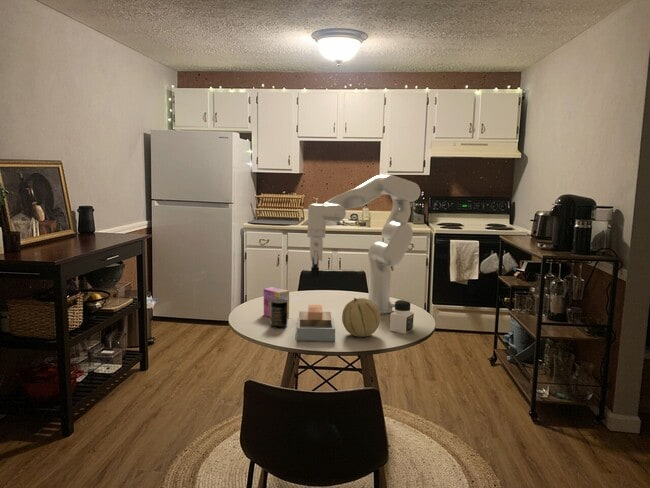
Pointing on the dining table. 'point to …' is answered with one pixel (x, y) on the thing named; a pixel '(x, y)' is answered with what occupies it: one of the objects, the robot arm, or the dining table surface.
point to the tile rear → (314, 307)
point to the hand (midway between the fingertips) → (314, 276)
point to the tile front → (315, 314)
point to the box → (274, 294)
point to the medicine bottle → (401, 317)
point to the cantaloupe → (361, 317)
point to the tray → (315, 333)
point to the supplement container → (279, 313)
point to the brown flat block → (324, 322)
